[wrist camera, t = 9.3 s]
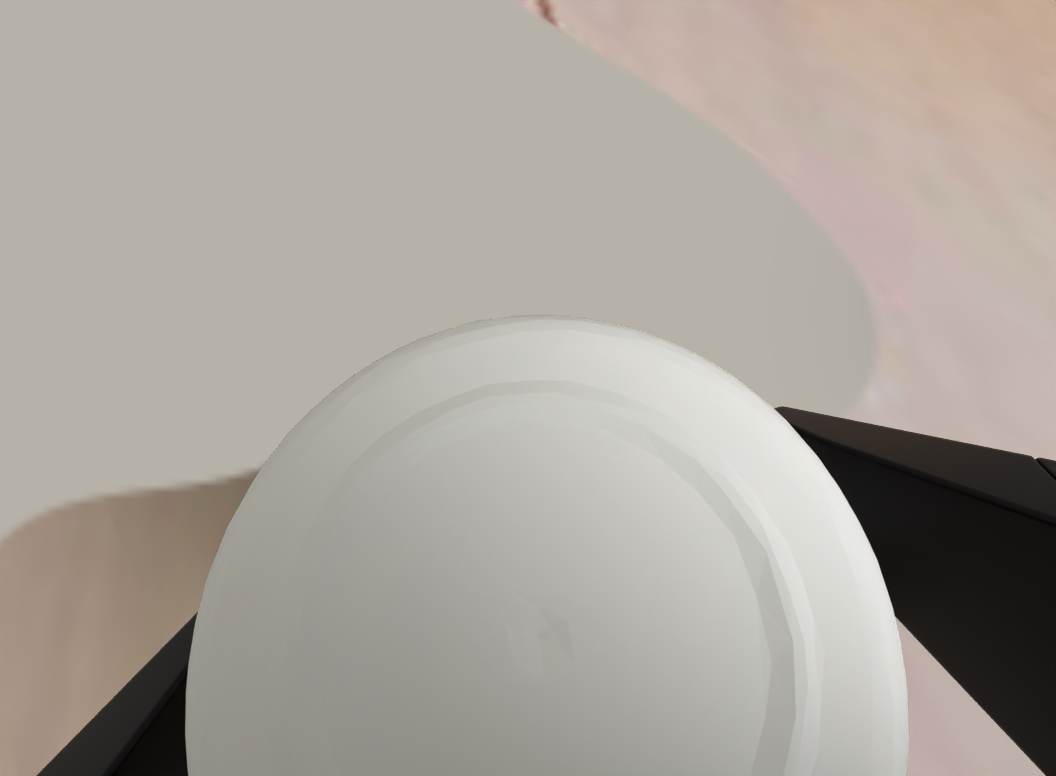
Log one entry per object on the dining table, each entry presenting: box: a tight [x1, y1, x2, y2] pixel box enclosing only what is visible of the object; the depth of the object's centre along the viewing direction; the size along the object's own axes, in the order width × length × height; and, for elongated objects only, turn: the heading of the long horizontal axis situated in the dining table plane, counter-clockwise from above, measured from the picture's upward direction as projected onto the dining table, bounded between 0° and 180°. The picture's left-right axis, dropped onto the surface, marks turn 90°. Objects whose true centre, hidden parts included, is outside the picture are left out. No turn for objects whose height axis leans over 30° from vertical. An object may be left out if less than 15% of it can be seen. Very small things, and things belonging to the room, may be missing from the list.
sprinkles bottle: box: [185, 315, 909, 776], centre depth 9 cm, size 5×5×13 cm
